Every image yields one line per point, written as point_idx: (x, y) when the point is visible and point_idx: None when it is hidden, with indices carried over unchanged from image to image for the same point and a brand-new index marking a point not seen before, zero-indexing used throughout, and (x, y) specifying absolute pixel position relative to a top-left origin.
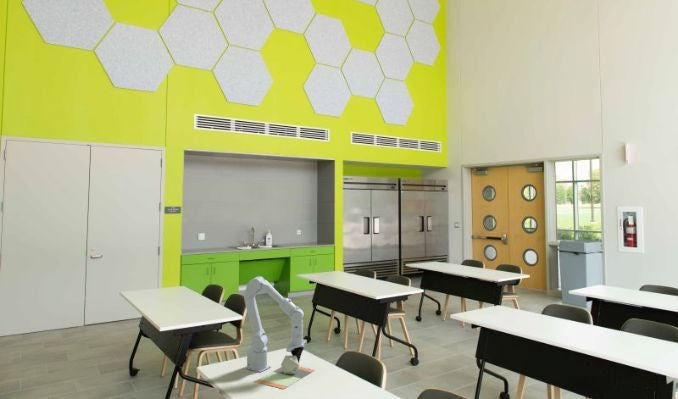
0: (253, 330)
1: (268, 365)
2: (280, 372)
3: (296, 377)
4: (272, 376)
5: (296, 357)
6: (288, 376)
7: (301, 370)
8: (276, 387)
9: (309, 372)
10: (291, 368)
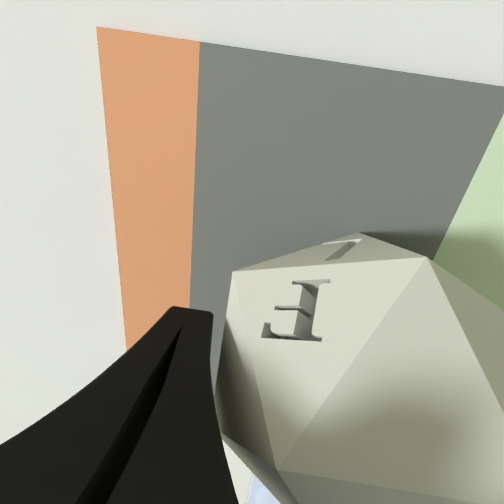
0: None
1: (255, 477)
2: None
3: (472, 169)
4: None
5: (312, 420)
6: (451, 273)
7: (212, 210)
8: None
9: (228, 63)
10: (498, 312)
